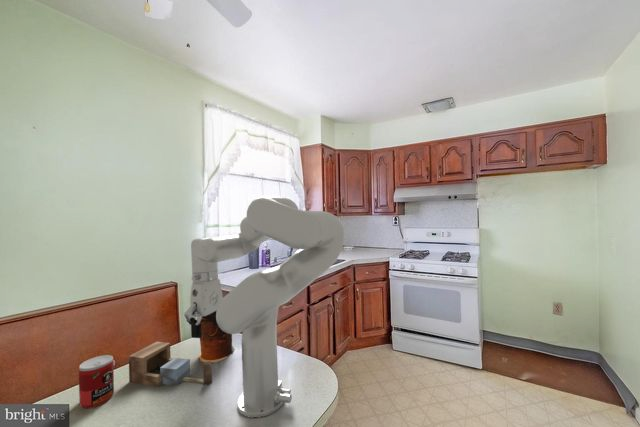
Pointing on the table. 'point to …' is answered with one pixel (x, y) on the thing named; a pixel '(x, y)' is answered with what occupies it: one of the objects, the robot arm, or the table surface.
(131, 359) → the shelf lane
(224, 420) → the table surface
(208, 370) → the knob-handled block
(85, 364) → the canned food
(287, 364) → the table surface
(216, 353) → the vessel
